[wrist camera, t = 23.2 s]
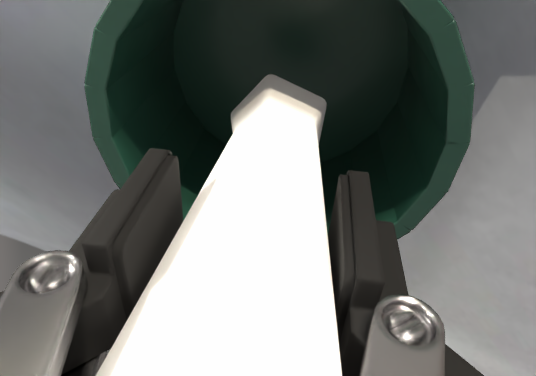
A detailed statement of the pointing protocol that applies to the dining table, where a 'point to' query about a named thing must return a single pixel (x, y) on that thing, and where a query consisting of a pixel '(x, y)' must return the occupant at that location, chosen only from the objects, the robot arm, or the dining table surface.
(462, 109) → the tin
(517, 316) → the dining table surface
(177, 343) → the perfume bottle
